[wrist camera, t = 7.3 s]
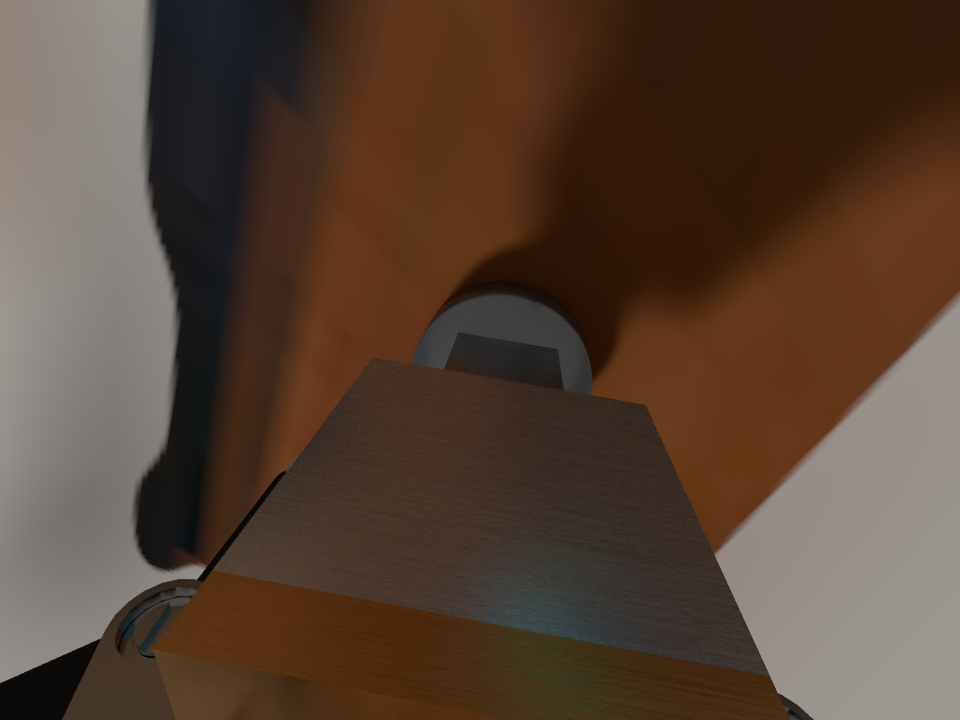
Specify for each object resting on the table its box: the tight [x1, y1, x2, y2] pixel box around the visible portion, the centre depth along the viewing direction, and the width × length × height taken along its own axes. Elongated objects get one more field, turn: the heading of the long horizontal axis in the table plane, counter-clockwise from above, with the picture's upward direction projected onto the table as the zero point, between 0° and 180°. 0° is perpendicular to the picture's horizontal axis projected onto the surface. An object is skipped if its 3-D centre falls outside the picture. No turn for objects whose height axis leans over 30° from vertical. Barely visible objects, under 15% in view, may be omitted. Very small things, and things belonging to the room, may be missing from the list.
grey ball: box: [412, 281, 592, 395], centre depth 15 cm, size 6×6×5 cm
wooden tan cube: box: [153, 357, 790, 720], centre depth 8 cm, size 6×6×6 cm
